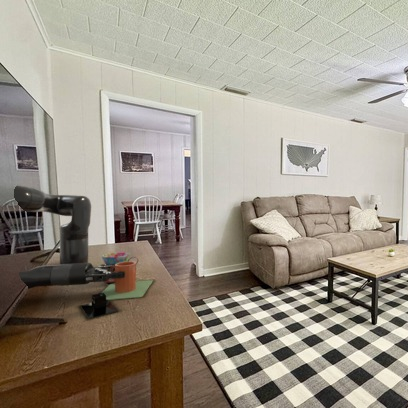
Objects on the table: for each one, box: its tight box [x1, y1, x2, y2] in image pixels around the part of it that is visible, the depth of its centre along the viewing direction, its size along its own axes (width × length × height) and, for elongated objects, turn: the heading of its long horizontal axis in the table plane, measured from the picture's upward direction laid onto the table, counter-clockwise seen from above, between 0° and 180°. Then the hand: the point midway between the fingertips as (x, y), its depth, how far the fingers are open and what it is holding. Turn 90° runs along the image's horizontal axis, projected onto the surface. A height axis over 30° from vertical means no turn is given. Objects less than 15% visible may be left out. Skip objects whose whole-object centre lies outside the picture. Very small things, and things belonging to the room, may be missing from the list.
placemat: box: [100, 279, 154, 301], centre depth 106 cm, size 18×14×1 cm
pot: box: [114, 261, 137, 293], centre depth 105 cm, size 6×6×10 cm
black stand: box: [80, 292, 119, 320], centre depth 90 cm, size 12×7×5 cm, turn 51°
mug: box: [101, 252, 140, 284], centre depth 115 cm, size 12×9×11 cm
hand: (128, 271), depth 105 cm, fingers open, 8 cm apart
